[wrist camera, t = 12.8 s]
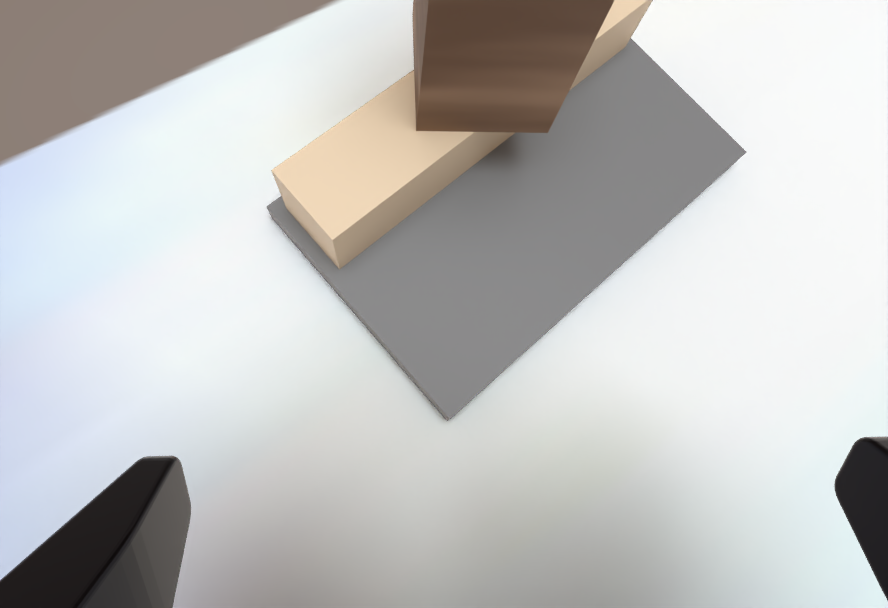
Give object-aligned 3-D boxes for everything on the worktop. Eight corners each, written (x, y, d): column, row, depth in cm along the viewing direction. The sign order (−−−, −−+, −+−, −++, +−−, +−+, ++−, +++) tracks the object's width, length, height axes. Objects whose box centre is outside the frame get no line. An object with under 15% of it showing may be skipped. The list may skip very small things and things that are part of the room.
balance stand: (732, 163, 25) (795, 110, 21) (447, 420, 21) (460, 412, 18) (568, 1, 26) (600, -78, 22) (271, 217, 23) (248, 168, 19)
